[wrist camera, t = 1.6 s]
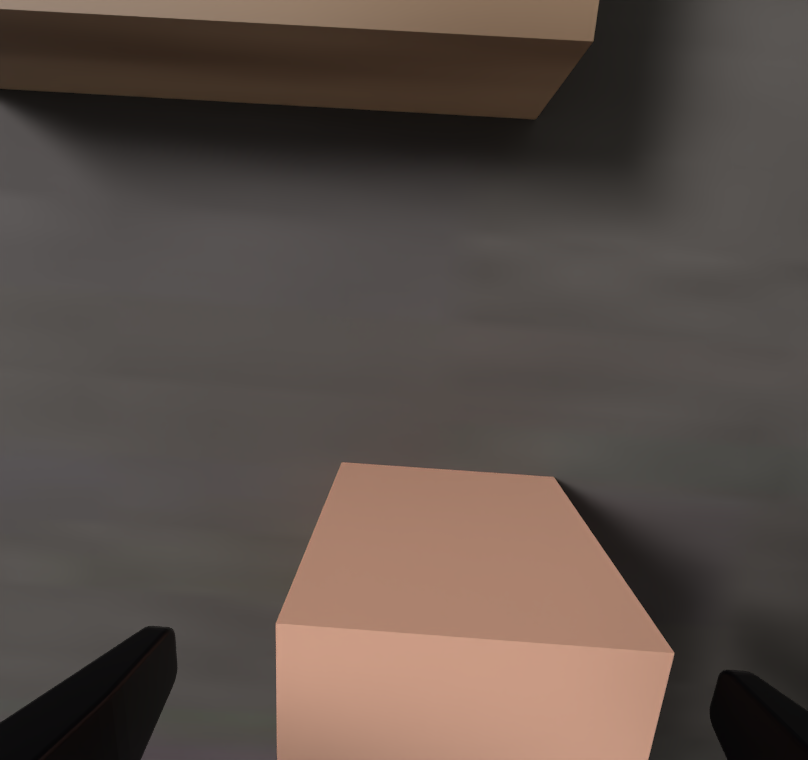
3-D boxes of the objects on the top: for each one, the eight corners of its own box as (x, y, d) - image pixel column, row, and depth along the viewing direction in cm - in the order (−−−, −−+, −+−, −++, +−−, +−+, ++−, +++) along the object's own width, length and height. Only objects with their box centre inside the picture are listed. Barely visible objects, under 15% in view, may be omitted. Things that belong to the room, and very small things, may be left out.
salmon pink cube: (525, 650, 10) (606, 925, 6) (337, 635, 10) (279, 898, 6) (552, 475, 9) (674, 653, 5) (342, 460, 9) (276, 623, 5)
